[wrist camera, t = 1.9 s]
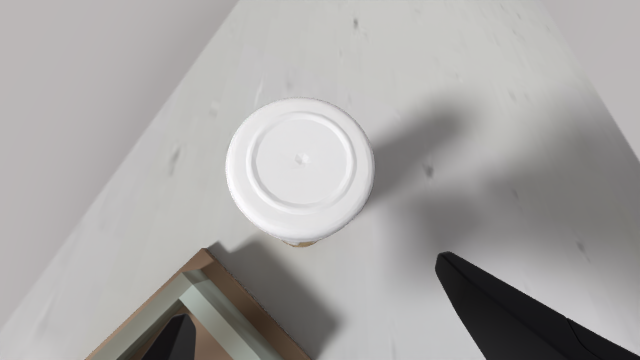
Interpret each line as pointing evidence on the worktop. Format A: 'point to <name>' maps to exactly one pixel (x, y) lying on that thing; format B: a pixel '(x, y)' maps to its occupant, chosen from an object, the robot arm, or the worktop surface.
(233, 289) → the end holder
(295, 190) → the sprinkles bottle
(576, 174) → the worktop surface
